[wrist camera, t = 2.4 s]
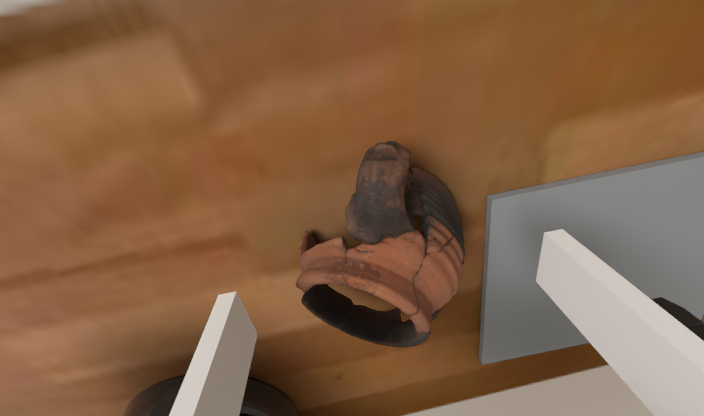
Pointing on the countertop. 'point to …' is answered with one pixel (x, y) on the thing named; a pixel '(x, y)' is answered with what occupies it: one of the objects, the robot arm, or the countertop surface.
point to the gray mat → (591, 248)
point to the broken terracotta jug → (388, 253)
